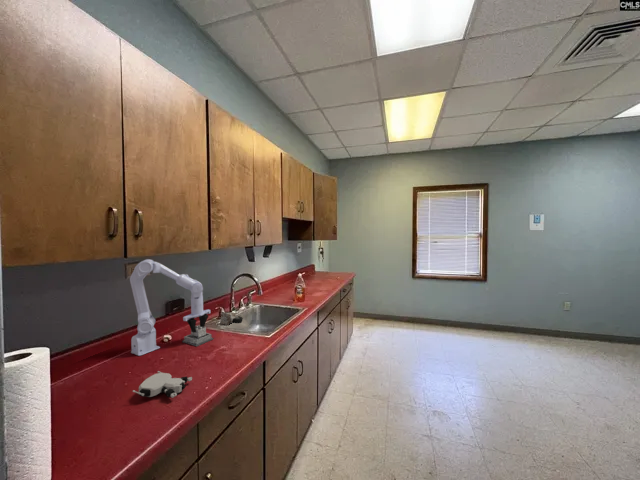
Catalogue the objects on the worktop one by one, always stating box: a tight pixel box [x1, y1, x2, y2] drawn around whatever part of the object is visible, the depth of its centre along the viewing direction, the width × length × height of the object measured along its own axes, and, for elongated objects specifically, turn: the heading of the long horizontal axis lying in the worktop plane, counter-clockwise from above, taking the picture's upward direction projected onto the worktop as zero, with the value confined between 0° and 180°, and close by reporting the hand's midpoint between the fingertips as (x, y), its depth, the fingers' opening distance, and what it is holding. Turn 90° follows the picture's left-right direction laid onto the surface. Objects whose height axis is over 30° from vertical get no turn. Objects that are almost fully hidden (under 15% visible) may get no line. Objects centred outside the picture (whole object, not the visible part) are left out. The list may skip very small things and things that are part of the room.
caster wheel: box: [219, 312, 244, 326], centre depth 160 cm, size 7×11×10 cm
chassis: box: [181, 332, 215, 347], centre depth 133 cm, size 10×12×3 cm
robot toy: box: [132, 370, 193, 399], centre depth 89 cm, size 12×4×15 cm
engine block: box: [190, 324, 207, 339], centre depth 133 cm, size 4×6×5 cm
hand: (197, 330), depth 133 cm, fingers closed on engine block, 4 cm apart
